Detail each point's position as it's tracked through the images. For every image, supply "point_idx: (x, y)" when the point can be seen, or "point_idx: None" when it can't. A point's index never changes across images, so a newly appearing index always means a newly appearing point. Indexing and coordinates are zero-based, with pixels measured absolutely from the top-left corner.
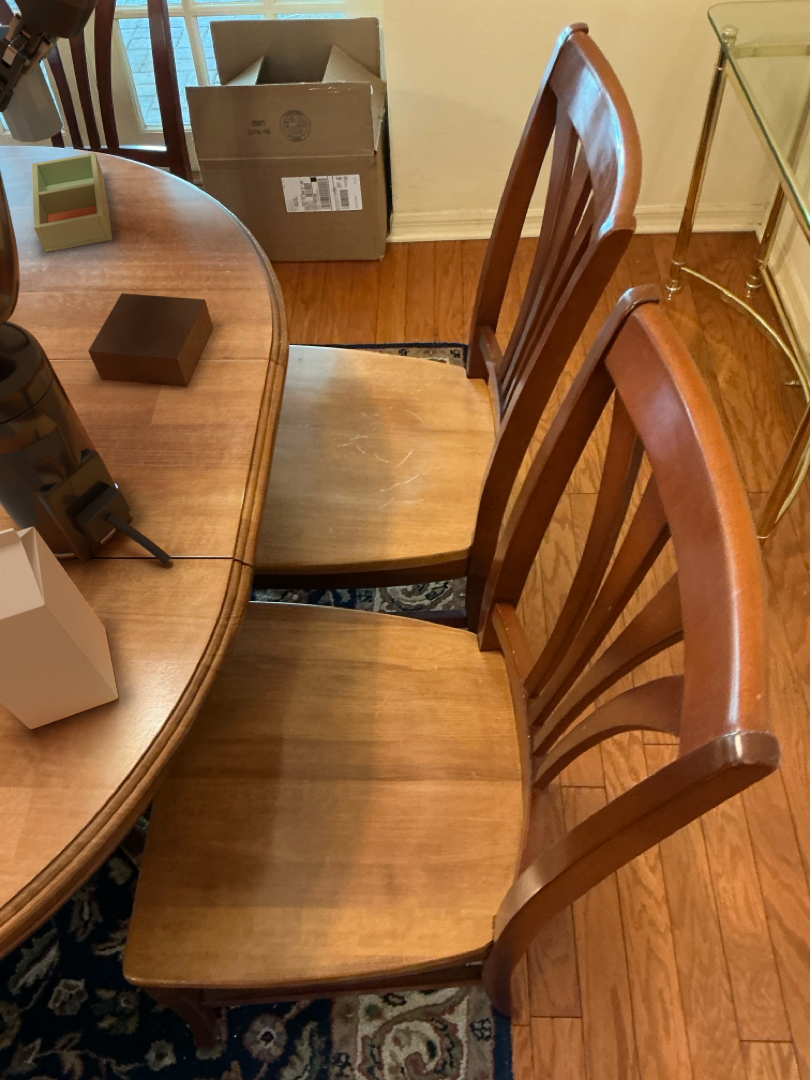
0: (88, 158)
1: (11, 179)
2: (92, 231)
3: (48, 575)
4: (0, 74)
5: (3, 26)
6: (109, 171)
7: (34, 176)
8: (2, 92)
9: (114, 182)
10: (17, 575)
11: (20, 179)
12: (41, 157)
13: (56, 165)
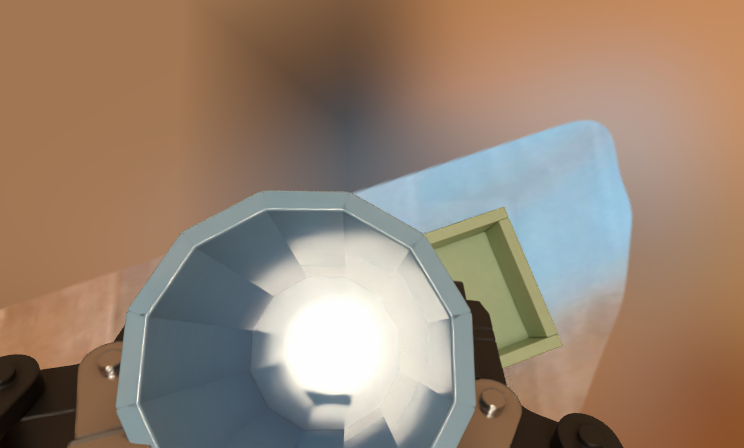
0: (542, 331)
1: (516, 145)
2: None
3: None
4: (22, 433)
5: (456, 332)
6: (563, 351)
7: (449, 229)
8: None
9: (519, 377)
10: None
11: (517, 164)
12: (605, 180)
13: (511, 259)
